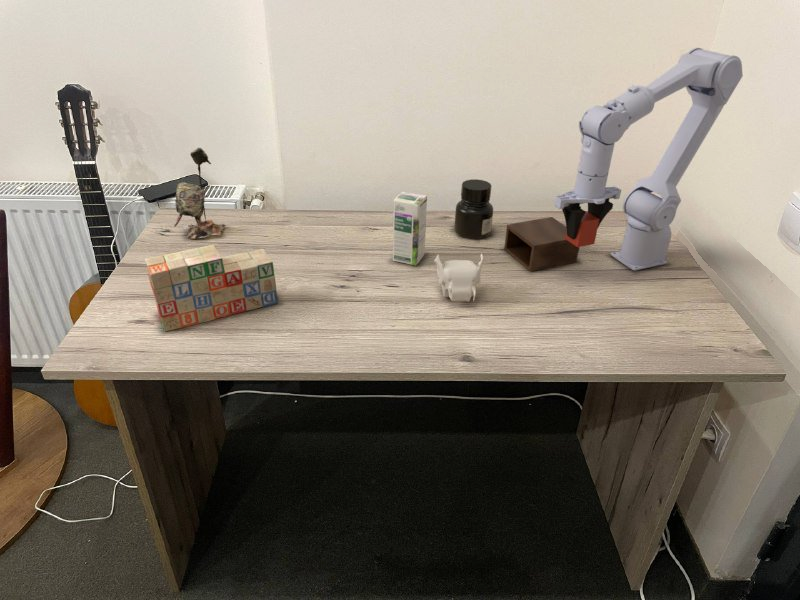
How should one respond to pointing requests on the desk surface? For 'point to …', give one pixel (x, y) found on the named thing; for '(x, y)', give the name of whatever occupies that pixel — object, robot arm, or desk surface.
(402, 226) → the syrup box
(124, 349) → the desk surface
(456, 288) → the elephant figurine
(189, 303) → the stack of blocks
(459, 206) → the ink bottle
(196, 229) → the brown bird figurine
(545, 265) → the brown open wooden box
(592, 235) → the block
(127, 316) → the desk surface
